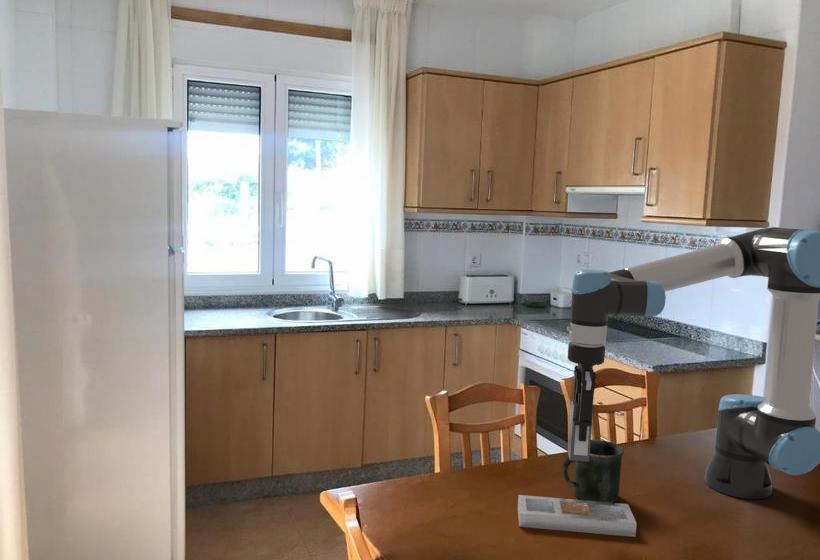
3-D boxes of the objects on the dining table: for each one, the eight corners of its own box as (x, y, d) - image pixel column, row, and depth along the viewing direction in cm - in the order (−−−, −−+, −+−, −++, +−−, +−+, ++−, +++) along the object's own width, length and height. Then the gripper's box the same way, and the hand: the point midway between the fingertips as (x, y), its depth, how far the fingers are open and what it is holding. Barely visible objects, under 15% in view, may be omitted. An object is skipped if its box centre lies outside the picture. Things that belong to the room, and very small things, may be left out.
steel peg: (586, 454, 148) (590, 401, 146) (589, 461, 144) (593, 406, 142) (567, 453, 148) (571, 399, 147) (569, 460, 144) (573, 405, 143)
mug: (629, 504, 157) (633, 454, 156) (572, 509, 153) (575, 458, 152) (605, 484, 167) (608, 438, 166) (550, 489, 164) (553, 441, 162)
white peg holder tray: (627, 517, 151) (628, 504, 150) (635, 537, 142) (636, 523, 142) (517, 507, 153) (518, 494, 153) (519, 526, 145) (520, 513, 144)
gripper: (564, 334, 152) (557, 435, 154) (573, 351, 135) (565, 464, 138) (598, 336, 151) (591, 437, 154) (612, 353, 134) (603, 467, 137)
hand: (579, 450), depth 146 cm, fingers closed on steel peg, 4 cm apart
